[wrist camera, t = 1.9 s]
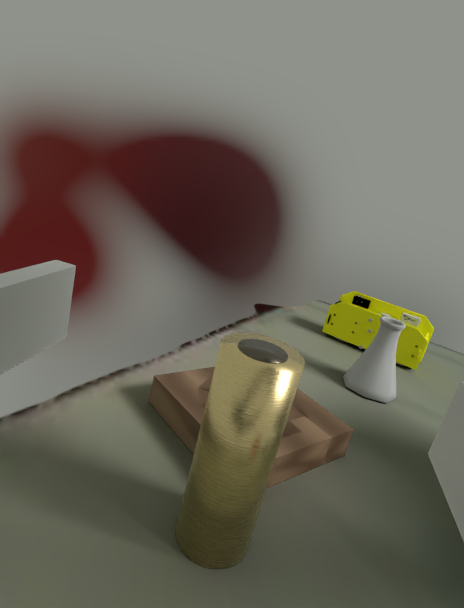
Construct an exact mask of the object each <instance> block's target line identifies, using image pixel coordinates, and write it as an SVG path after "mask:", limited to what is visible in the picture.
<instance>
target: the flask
mask: <svg viewBox="0 0 464 608" xmlns="http://www.w3.org/2000/svg"><path fill="white" fill-rule="evenodd" d="M380 322H381V324H380V327H379V330H378V332H377V334H376V336H375V337H374V339H373V341H372V343H371V344H370V345H369V347H368V348H367V349H366V350H365V351H364V353H363V354H362V355H361V356H360V357H359V359H358V360H357V361H356V362H355V363H354V364H353V365H352V367H351V368H350V369H349V370H348V371H347V372H346V374H345V375H344V376H343V379H344V383H345V386H346V387H348V388H349V389H351V390H353V391H355V392H356V393H358V394H360V395H362V396H363V397H366V398H369V399H373V400H377V401H381V402H384V403H388V402H390V401H392V400H394V399H395V398H396V350H397V344H398V339H399V336H400V333H401V331H402V330H403V329H405V327H406V325H405V324H404V322H401V321H399V320H397V319H394V318H390V317H386V316H383V317H380Z"/></svg>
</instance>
